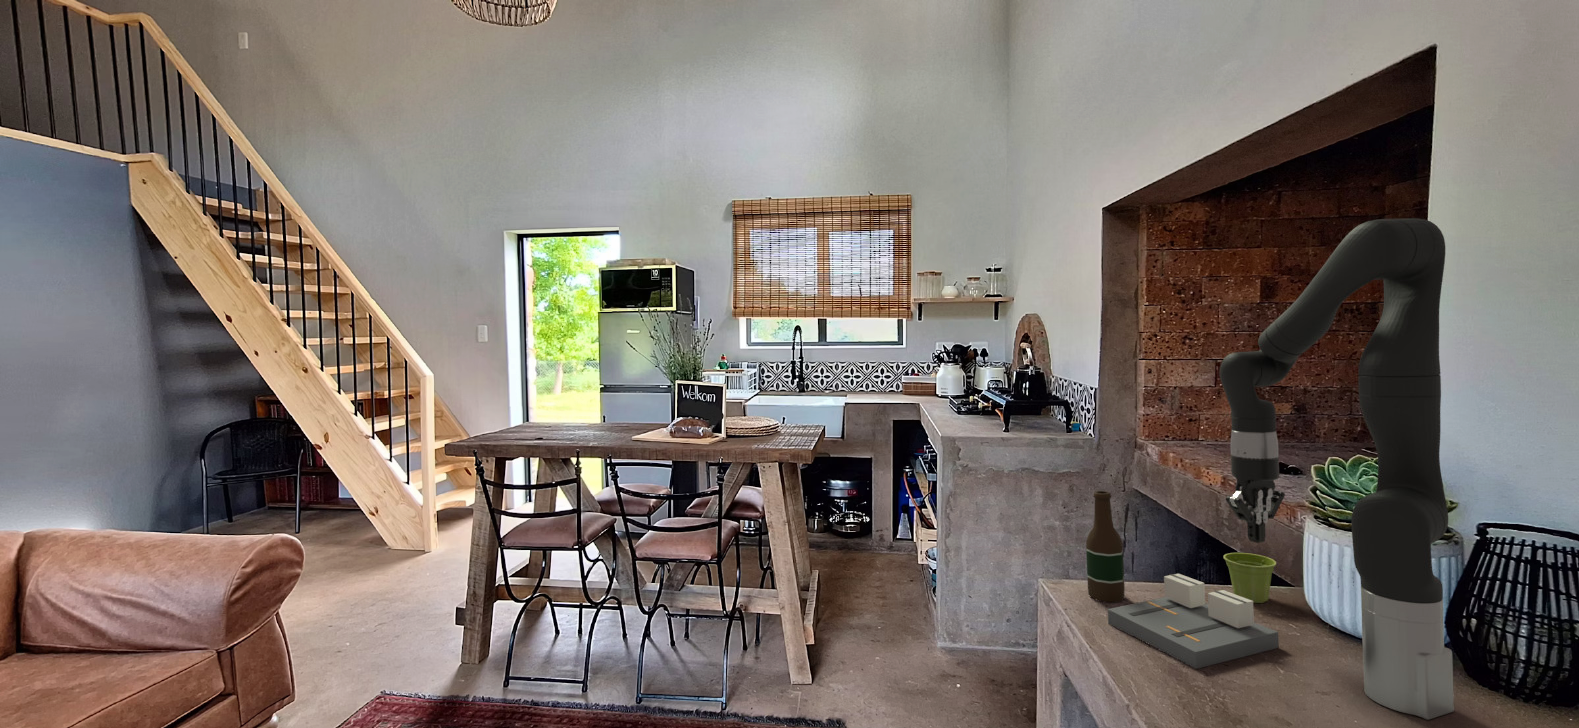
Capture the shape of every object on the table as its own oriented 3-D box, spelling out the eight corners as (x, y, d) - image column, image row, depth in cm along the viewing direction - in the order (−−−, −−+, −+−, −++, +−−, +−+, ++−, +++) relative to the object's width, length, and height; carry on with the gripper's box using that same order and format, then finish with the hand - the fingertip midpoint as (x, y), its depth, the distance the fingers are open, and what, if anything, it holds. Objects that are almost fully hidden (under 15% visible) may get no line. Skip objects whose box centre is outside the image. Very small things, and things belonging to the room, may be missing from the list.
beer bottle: (1130, 604, 139) (1126, 496, 139) (1092, 603, 141) (1088, 496, 140) (1119, 590, 147) (1115, 488, 146) (1083, 589, 148) (1079, 488, 148)
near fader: (1254, 624, 119) (1253, 600, 119) (1238, 628, 118) (1237, 604, 118) (1223, 612, 125) (1222, 589, 125) (1208, 615, 124) (1207, 592, 124)
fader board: (1278, 647, 117) (1278, 631, 117) (1195, 668, 111) (1195, 651, 111) (1183, 607, 136) (1182, 593, 136) (1108, 623, 130) (1107, 608, 130)
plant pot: (1218, 588, 145) (1216, 551, 145) (1265, 591, 142) (1264, 553, 142) (1234, 605, 136) (1233, 565, 136) (1286, 608, 133) (1284, 567, 133)
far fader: (1205, 605, 129) (1204, 582, 129) (1190, 608, 128) (1189, 585, 127) (1179, 594, 135) (1178, 572, 134) (1164, 597, 133) (1163, 575, 133)
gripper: (1247, 459, 117) (1250, 551, 118) (1299, 453, 121) (1301, 542, 122) (1210, 453, 125) (1213, 540, 125) (1259, 447, 128) (1262, 531, 129)
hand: (1256, 541), depth 123 cm, fingers closed
